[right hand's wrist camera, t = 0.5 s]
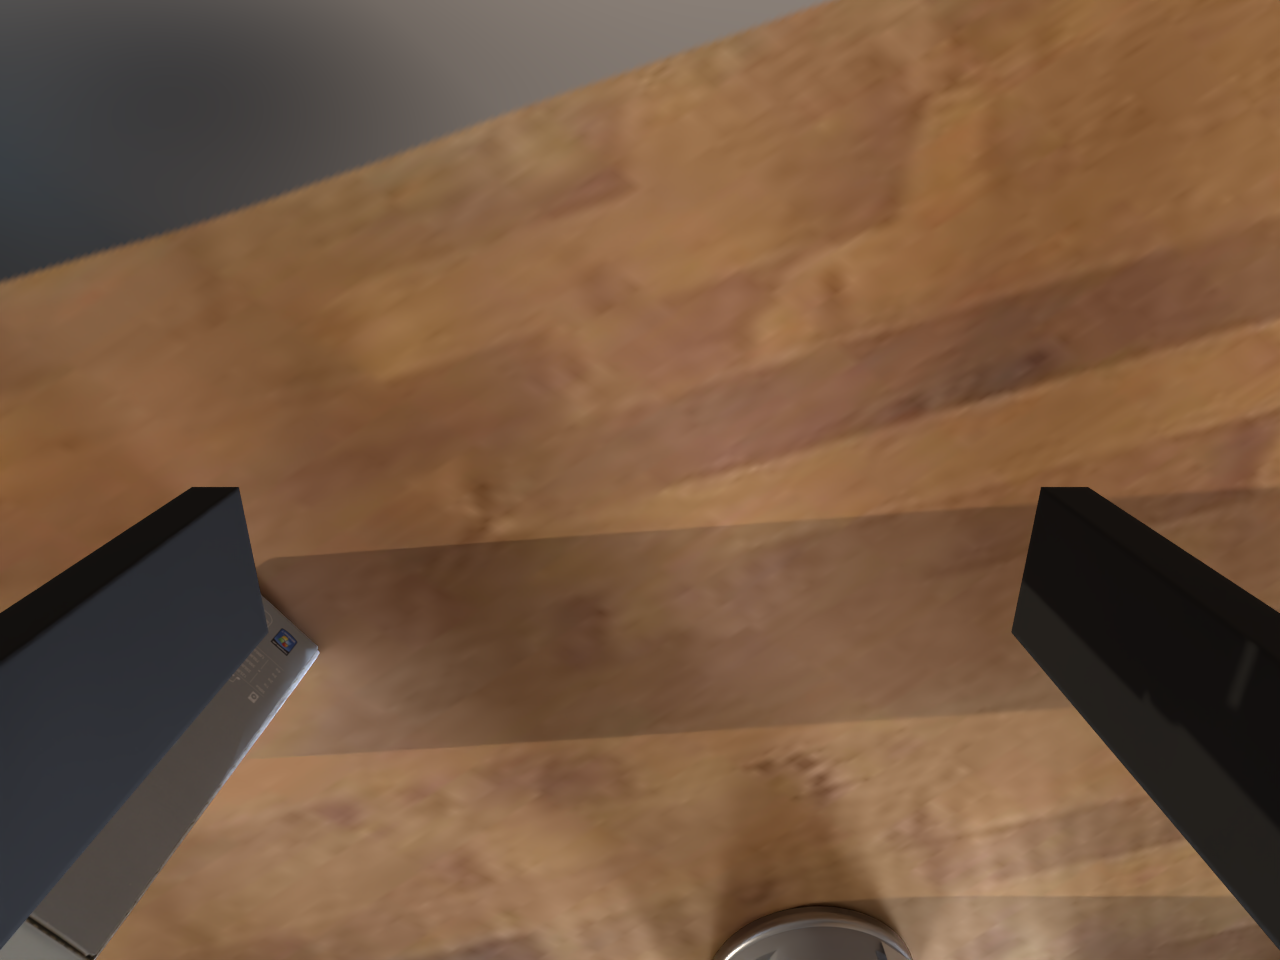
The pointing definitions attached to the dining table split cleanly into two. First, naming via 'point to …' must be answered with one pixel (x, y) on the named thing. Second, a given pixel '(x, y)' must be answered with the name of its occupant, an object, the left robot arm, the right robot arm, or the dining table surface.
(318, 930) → the dining table surface
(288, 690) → the hard drive box
